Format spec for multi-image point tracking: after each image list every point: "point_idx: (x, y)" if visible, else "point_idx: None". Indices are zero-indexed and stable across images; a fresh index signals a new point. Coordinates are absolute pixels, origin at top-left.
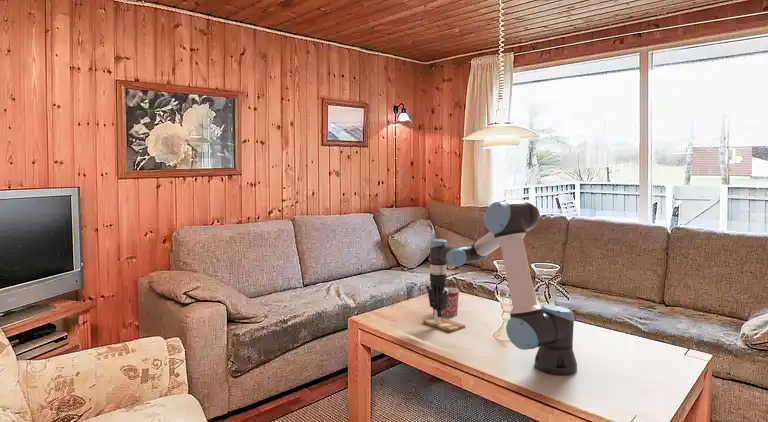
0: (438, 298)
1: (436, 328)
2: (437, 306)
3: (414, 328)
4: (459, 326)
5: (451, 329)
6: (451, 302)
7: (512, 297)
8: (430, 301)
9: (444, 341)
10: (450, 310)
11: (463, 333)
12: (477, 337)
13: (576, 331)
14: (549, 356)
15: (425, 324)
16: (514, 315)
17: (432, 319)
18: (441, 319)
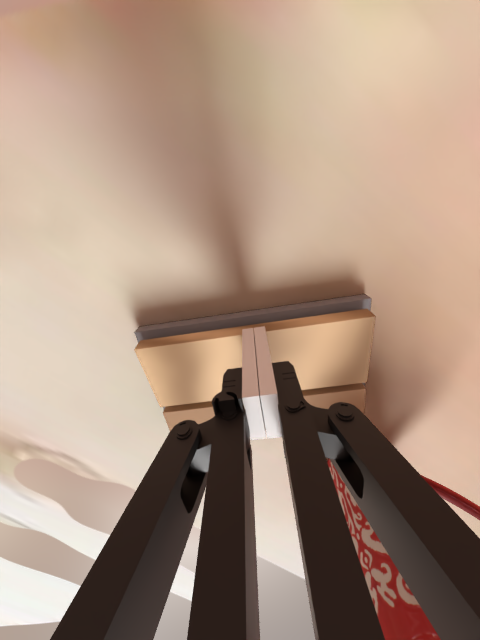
0: (205, 595)
1: (241, 317)
2: (234, 439)
3: (357, 219)
4: (168, 412)
5: (139, 355)
6: (364, 552)
7: None
8: (378, 463)
9: (61, 241)
10: (348, 492)
11: (139, 390)
12: (68, 405)
13: (35, 596)
14: None
15: (338, 304)
16: None
17: (344, 368)
18: (312, 405)
